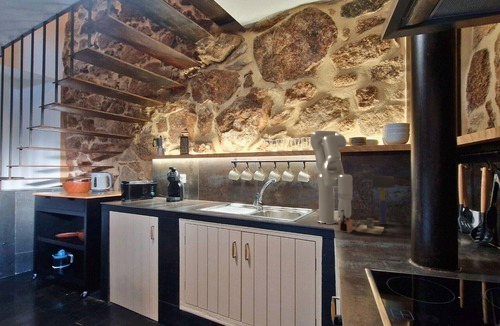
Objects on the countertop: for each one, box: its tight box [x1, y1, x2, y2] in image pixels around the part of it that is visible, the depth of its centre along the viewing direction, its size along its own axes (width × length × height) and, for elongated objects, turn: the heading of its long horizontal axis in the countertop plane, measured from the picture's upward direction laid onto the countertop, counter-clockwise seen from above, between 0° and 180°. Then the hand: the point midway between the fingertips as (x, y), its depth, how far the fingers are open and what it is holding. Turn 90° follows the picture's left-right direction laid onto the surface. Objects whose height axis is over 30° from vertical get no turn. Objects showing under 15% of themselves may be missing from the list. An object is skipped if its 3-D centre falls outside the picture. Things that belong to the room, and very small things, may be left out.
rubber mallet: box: [371, 175, 396, 225], centre depth 161 cm, size 12×8×30 cm, turn 70°
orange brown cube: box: [337, 218, 353, 234], centre depth 143 cm, size 6×6×6 cm
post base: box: [355, 217, 385, 235], centre depth 144 cm, size 12×12×6 cm
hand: (345, 229), depth 143 cm, fingers closed on orange brown cube, 5 cm apart
